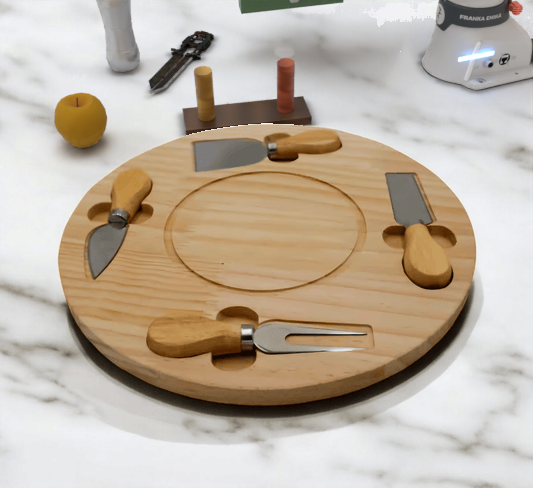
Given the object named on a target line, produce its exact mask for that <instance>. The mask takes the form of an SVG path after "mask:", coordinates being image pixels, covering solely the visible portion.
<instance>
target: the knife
mask: <svg viewBox="0 0 533 488" xmlns="http://www.w3.org/2000/svg"><path fill="white" fill-rule="evenodd" d="M214 39H215V36H214V34H213V33H211V32H208V31H205V30H196V31H194V32H193V34H190V35H187V36H186V37H185V38H184V39H183V40H182V41H181V44H180V45H179V46H180V47H179V48H173V47H171V48H170V51H171V57H170V58H169V59H168V60H167V61H166V62H165V63H164V64H163V65H162V66H161V67H160V69H158V71H157V72H156V73H155V74H153V76H152V77H151V78H150V79H148V85H149V89H151V91H150V95H152V94H154V93H157V92H160V91H163V90H165V89H166V88H167V87H168V86H169V85H170V84H171V83H172V82H173V81H174V80H175V79H176V78H177V76H179V74H180V73H181V72H183V70H184V69H185V67H187V66H188V64H189V63H190V62H191V61H193V62H195V61H201V59H202V57H201V55H202V53H203V52H206V51H207V50H208V49H209V48H210V46H211V45H212V41H213V40H214ZM196 41H198V42H196ZM188 49H194V50H193V51H191V52H186V51H187V50H188ZM184 53H185V54H184Z"/></svg>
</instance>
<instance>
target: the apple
mask: <svg viewBox="0 0 533 488" xmlns="http://www.w3.org/2000/svg"><path fill="white" fill-rule="evenodd" d="M53 120H54V121H53V123H54V126H55V128H56V131H57V132H58V133H59V134H60V136H61V137H62V138H63V139H64V140H65V141H66V142H67V143H69V144H70V145H71V146H72V147H74V148H78V149H85V148H89V147H92V146H94V145H96V144H98V143H99V142H100V140H101V139H102V138H103V136H104V134H105V132H106V129H107V124H108V115H107V111H106V108H105V106H104V104H103V103H102V101H101V100H100V99H99V98H98V97H97V96H96V95H93V94H91V93H87V92H77V93H76V92H75V93H72V94H68V95H66V96H63V97H61V98H60V100H59V101H58V102H57V104H56V106H55V109H54V119H53Z"/></svg>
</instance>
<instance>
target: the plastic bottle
mask: <svg viewBox="0 0 533 488" xmlns="http://www.w3.org/2000/svg"><path fill="white" fill-rule="evenodd" d="M131 1H132V0H95V2H96V5H97V7H98V11H99V14H100V17H101V21H102V25H103V29H104V37H105V58H106V61H107V64H108V66H109V68H111V69H112V70H113V71H115V72H121V73H125V72H130V71H133V70H134V69H136V68H137V67H138V66H139V63H140V61H141V53H140V50H139V49H140V48H139V45H138V43H137V41H136V36H135V32H134V29H133V21H132V20H133V19H132V2H131Z"/></svg>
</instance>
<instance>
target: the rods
mask: <svg viewBox="0 0 533 488" xmlns="http://www.w3.org/2000/svg"><path fill="white" fill-rule="evenodd" d="M295 65H296V62H295V60H294V59H293V58H289V57H283V58H279V59H277V61H276V98H271V99H261V100H252V101H241V102H233V103H232V102H231V103H224V104H223V103H222V104H215V93H214V80H213V78H214V77H213V69H212V68H211V67H210V66H207V65H200V66H197V67H195V68H194V70H193V76H194V89H195V97H196V106H195V107H183V108H182V115H183V123H184V129H185V136H186V135H189V134H192V133H197V132H201V131H205V130H211V129H217V128H223V127H230V126H238V125H248V124H261V123H273V124H294V125H298V126H307V125H312V119H313V118H312V115H311V112H310V109H309V107H308V104H307V102H306V99H305V97H304V96H303V95H301V96H300V95H299V96H295V77H296V75H295V74H296V73H295V71H296V69H295V67H296V66H295Z"/></svg>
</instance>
